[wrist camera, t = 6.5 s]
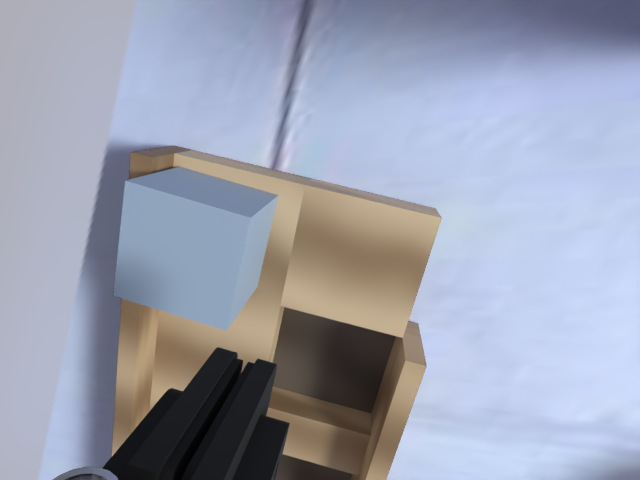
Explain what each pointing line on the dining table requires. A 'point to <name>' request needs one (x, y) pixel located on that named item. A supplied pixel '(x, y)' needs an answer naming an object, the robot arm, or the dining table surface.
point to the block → (192, 244)
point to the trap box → (302, 321)
